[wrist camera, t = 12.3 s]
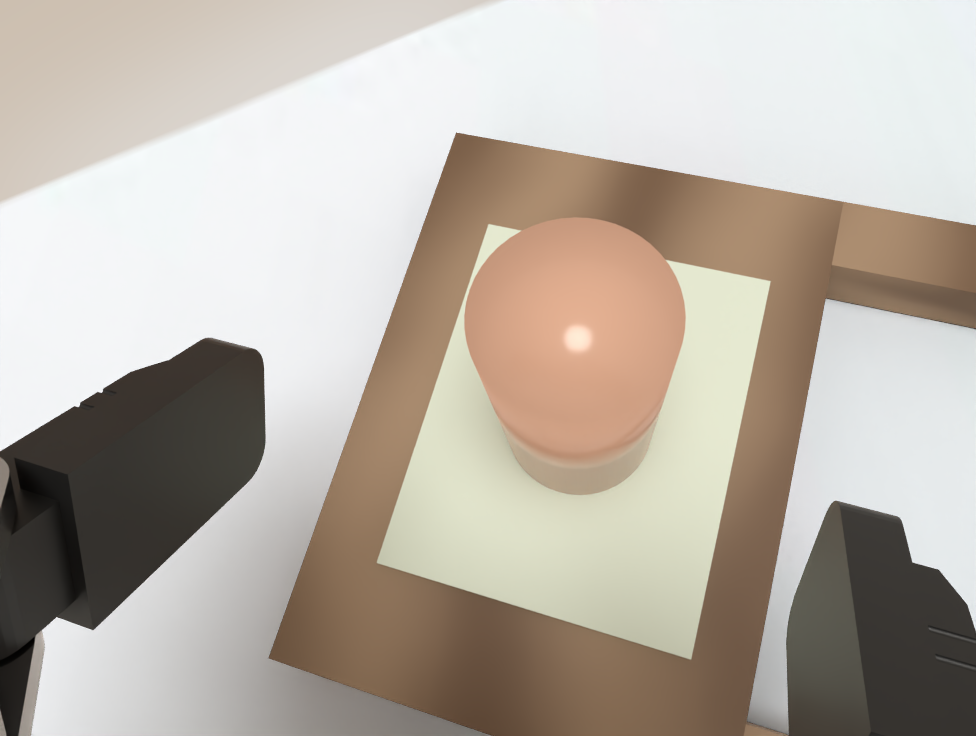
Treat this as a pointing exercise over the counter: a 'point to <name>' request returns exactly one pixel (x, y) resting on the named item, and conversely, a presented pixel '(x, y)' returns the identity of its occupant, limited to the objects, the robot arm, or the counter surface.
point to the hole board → (611, 513)
